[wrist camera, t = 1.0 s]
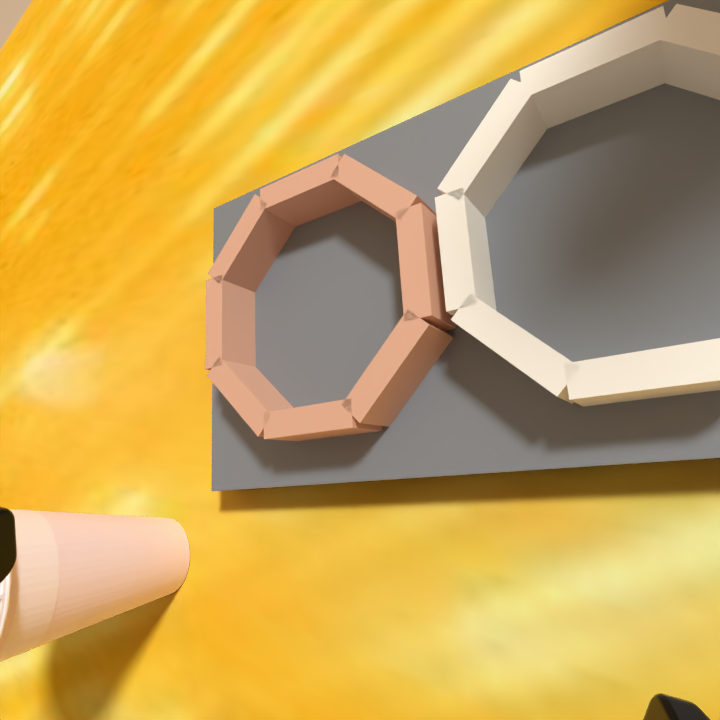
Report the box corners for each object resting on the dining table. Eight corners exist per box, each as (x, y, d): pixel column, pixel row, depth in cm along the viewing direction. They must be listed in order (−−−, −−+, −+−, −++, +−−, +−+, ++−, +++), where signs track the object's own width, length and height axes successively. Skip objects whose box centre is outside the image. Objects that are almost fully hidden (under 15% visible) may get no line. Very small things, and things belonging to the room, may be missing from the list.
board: (960, 442, 13) (1036, 434, 10) (236, 490, 25) (174, 492, 22) (810, -27, 16) (834, -137, 13) (235, 219, 28) (181, 191, 25)
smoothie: (118, 607, 28) (-292, 706, 16) (135, 484, 29) (-242, 495, 17) (200, 639, 25) (-247, 792, 13) (216, 498, 26) (-187, 523, 14)
